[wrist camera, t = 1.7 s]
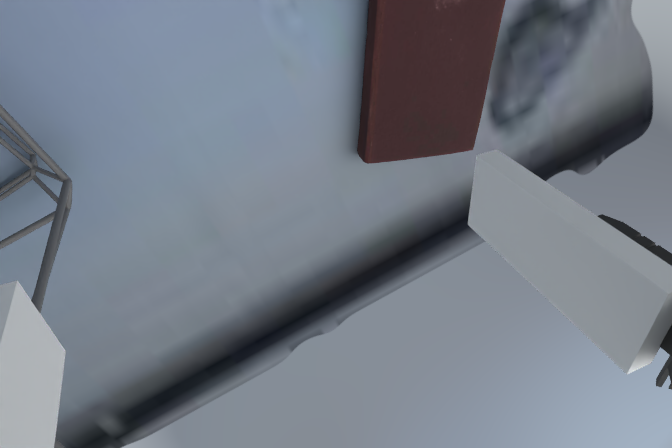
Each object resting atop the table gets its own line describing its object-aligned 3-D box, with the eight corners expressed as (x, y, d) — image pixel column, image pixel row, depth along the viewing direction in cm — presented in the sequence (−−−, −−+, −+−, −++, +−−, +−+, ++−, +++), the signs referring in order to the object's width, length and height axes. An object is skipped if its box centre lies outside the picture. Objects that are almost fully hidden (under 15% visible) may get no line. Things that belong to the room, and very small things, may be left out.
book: (352, 152, 51) (366, 167, 48) (368, -80, 39) (387, -78, 36) (457, 138, 56) (476, 150, 53) (500, -74, 44) (527, -72, 41)
